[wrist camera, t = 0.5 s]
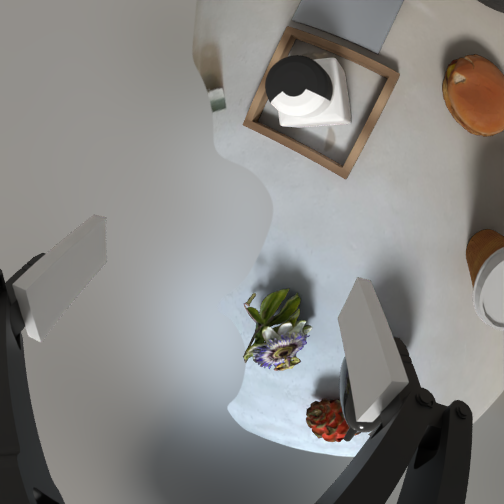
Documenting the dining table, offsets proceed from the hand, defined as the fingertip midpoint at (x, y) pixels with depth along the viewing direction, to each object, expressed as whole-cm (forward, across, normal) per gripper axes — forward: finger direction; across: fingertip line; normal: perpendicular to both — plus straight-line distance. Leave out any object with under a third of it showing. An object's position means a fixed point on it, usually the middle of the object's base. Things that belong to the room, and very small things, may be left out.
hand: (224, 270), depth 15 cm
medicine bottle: (+27, +6, +10) cm, 30 cm away
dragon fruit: (+19, +25, -37) cm, 49 cm away
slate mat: (+27, +6, +25) cm, 37 cm away
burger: (+21, +23, +18) cm, 36 cm away
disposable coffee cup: (+17, +32, 0) cm, 36 cm away
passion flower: (+25, +10, -23) cm, 36 cm away
